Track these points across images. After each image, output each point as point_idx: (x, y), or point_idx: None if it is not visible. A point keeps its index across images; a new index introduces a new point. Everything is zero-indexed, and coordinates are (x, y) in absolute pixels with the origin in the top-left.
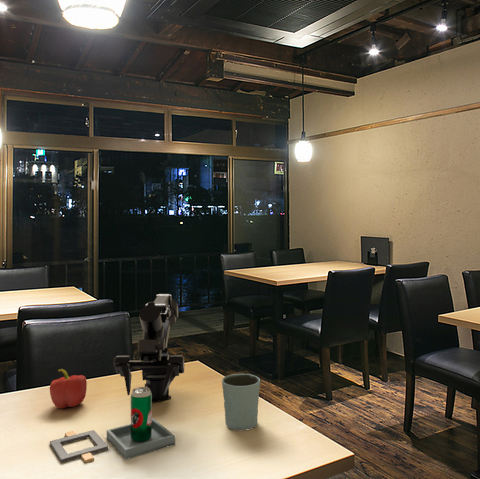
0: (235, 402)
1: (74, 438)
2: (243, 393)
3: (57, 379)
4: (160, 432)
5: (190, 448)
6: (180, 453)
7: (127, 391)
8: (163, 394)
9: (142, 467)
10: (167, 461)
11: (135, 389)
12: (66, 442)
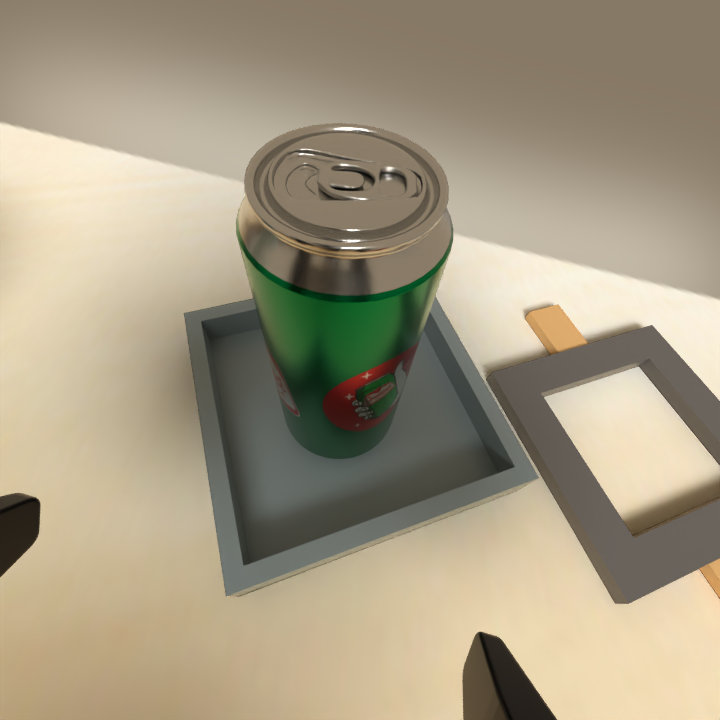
0: None
1: (695, 510)
2: None
3: None
4: (227, 439)
5: (150, 295)
6: (204, 275)
7: (507, 654)
8: (36, 517)
9: None
10: None
11: (414, 199)
12: (718, 498)
